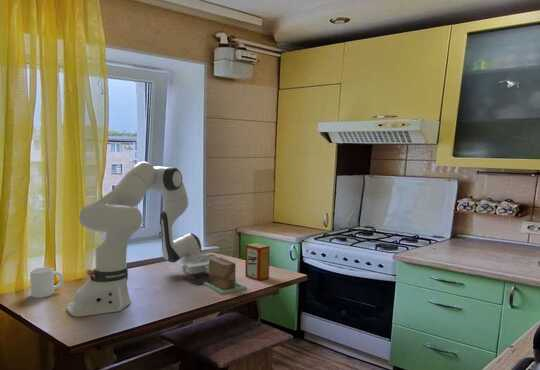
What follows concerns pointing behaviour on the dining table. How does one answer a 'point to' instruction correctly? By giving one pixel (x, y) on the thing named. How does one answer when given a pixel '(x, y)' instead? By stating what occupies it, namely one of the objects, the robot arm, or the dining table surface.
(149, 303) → the dining table surface
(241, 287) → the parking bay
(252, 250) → the baking soda box
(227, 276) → the walnut block
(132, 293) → the dining table surface
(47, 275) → the mug
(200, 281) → the trap mat left
